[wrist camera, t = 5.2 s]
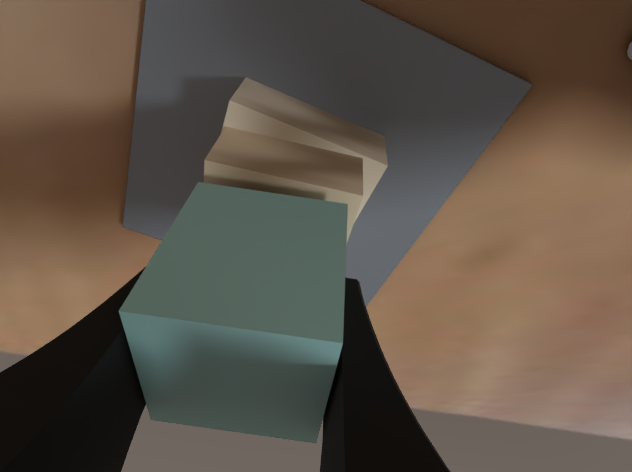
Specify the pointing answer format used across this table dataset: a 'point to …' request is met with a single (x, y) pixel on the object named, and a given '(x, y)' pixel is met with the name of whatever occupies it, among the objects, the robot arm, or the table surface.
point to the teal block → (242, 313)
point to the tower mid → (285, 169)
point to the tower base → (306, 128)
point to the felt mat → (322, 92)
